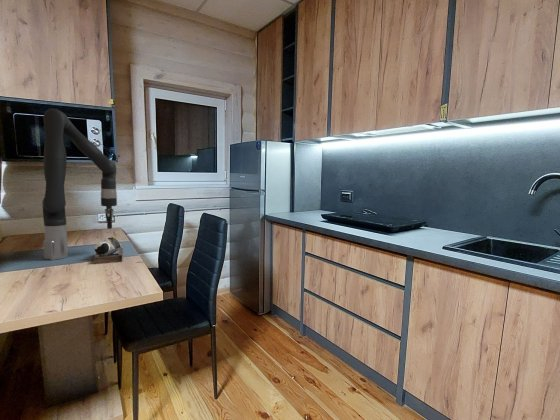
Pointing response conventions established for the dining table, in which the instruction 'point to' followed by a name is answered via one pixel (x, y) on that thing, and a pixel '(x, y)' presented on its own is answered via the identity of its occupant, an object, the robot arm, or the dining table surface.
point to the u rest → (109, 258)
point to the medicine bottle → (108, 246)
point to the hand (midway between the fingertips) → (109, 228)
